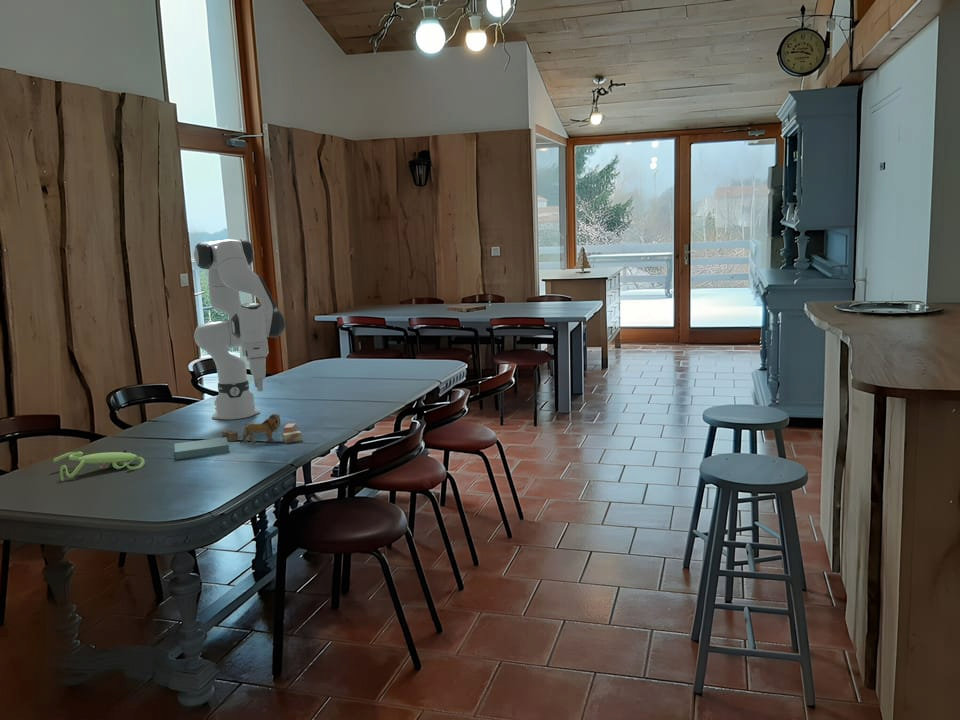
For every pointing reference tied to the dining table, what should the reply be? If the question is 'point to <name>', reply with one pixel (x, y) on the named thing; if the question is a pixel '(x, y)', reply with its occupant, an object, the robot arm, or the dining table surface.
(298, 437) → the oak brick
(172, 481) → the dining table surface
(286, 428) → the terracotta brick
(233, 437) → the walnut brick
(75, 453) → the figurine
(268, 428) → the lion figurine
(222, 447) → the teal slab
